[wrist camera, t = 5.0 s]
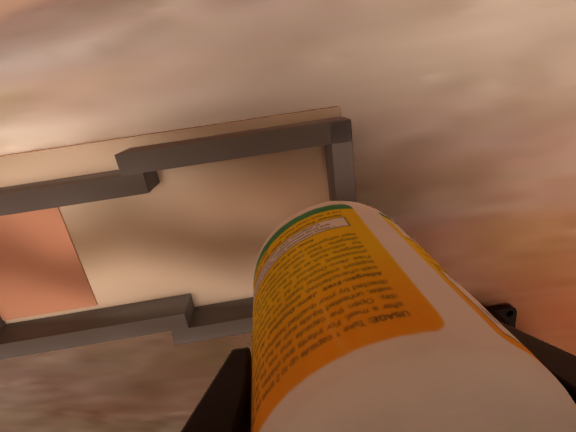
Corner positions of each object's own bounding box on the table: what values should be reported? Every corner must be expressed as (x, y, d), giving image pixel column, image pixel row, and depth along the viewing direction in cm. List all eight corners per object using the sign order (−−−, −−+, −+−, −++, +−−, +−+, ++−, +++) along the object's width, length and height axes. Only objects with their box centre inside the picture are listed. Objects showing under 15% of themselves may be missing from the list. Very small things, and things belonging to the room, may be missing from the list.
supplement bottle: (429, 218, 11) (1082, 693, 2) (372, 343, 13) (633, 900, 4) (276, 177, 10) (411, 727, 1) (235, 318, 12) (182, 981, 3)
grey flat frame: (352, 295, 22) (363, 319, 20) (13, 352, 21) (-18, 385, 19) (337, 106, 18) (350, 108, 16) (-86, 168, 17) (-142, 181, 15)
